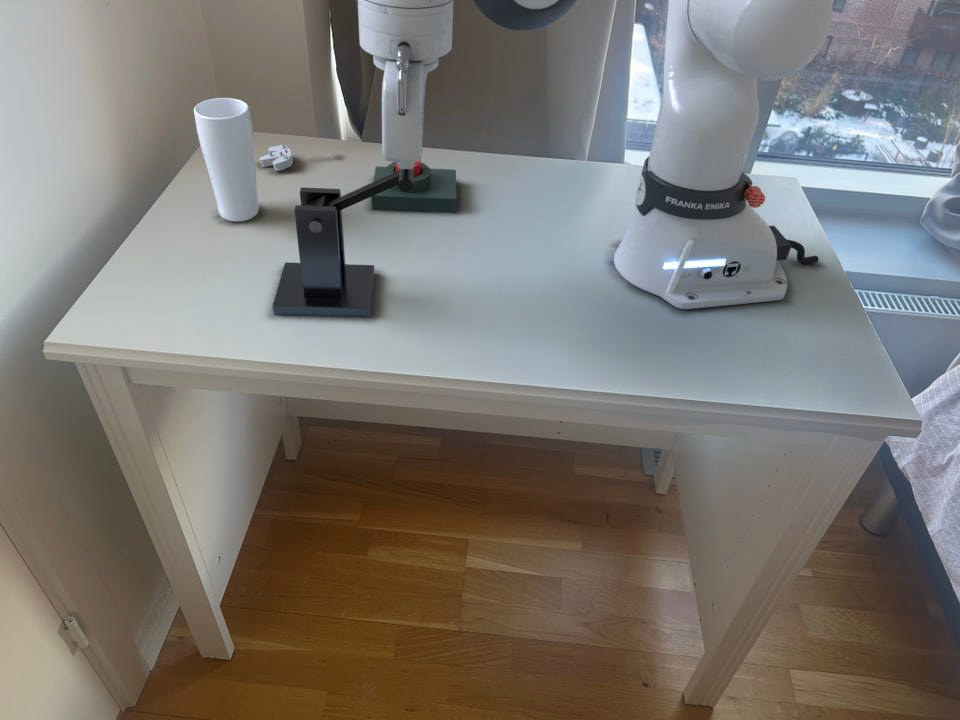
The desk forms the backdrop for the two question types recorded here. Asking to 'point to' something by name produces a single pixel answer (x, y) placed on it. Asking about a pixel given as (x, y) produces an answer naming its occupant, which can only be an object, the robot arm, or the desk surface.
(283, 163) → the game controller
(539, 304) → the desk surface
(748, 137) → the robot arm
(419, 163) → the power button
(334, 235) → the lever base
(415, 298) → the desk surface
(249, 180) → the drinking glass
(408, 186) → the black lever handle
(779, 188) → the desk surface
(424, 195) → the power block
